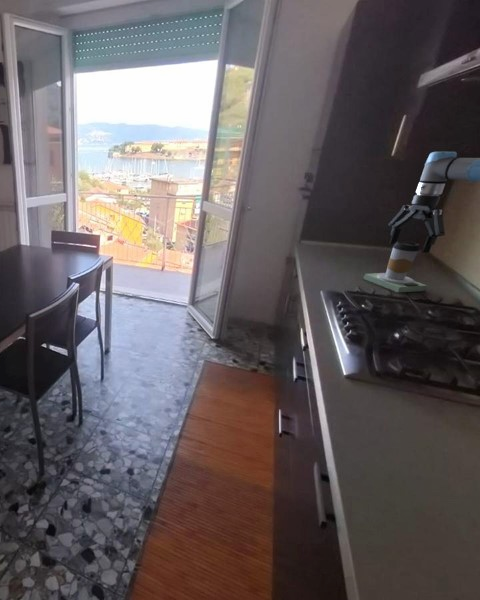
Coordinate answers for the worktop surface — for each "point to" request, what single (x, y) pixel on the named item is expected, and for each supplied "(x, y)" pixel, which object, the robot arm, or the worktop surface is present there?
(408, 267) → the coffee cup
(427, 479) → the worktop surface
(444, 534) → the worktop surface
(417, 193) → the robot arm
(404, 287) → the kitchen scale
